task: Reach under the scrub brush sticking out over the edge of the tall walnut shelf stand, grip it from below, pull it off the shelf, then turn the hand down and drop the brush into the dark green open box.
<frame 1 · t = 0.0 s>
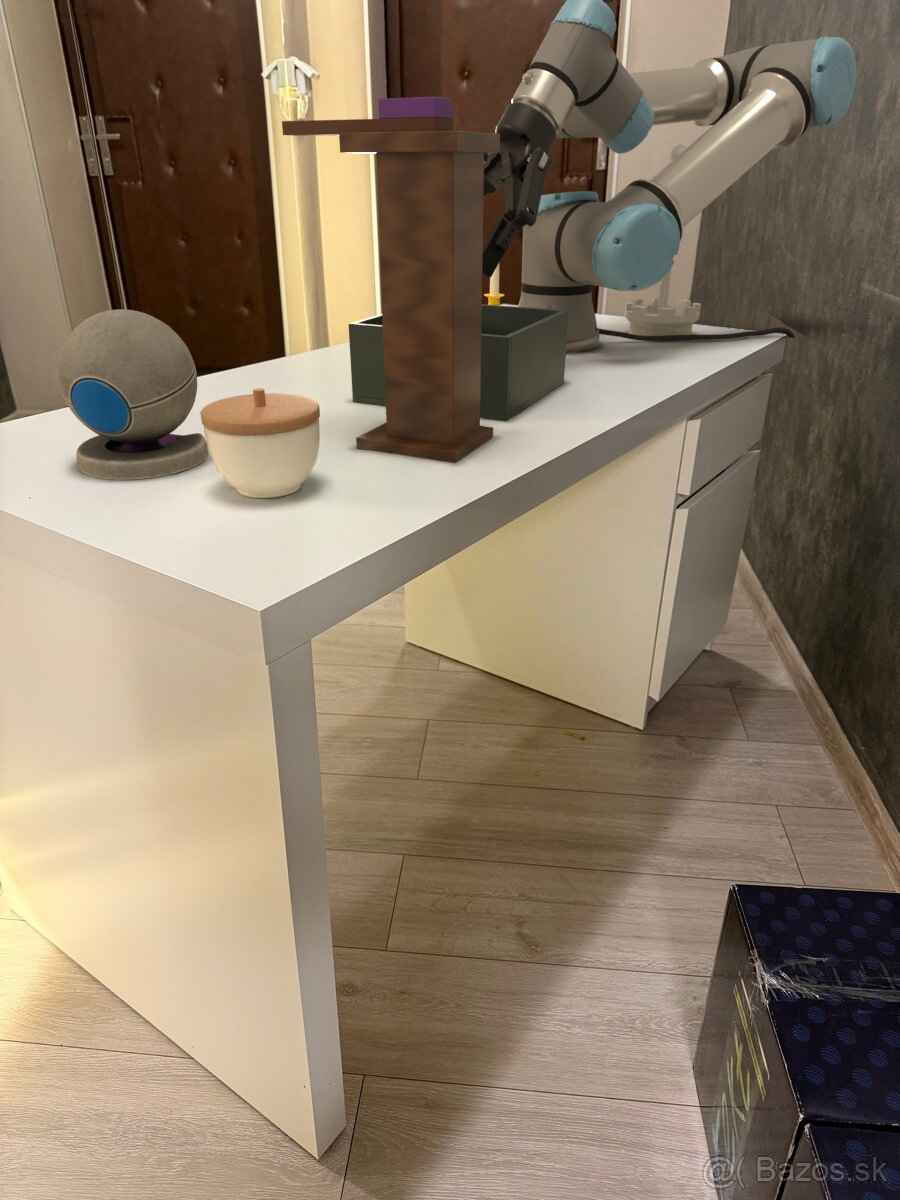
hand: (453, 266, 110), 15 cm above the table, tool tilted 35°, fingers open, 13 cm apart
scrub brush: (366, 134, 80), point 30 cm above the table, touching shelf stand
webcam: (144, 461, 87), on the table
dark green open box: (462, 392, 112), on the table
flag stand: (659, 335, 149), on the table
candle: (493, 325, 159), on the table
shelf stand: (426, 442, 92), on the table
trinket box: (269, 489, 80), on the table
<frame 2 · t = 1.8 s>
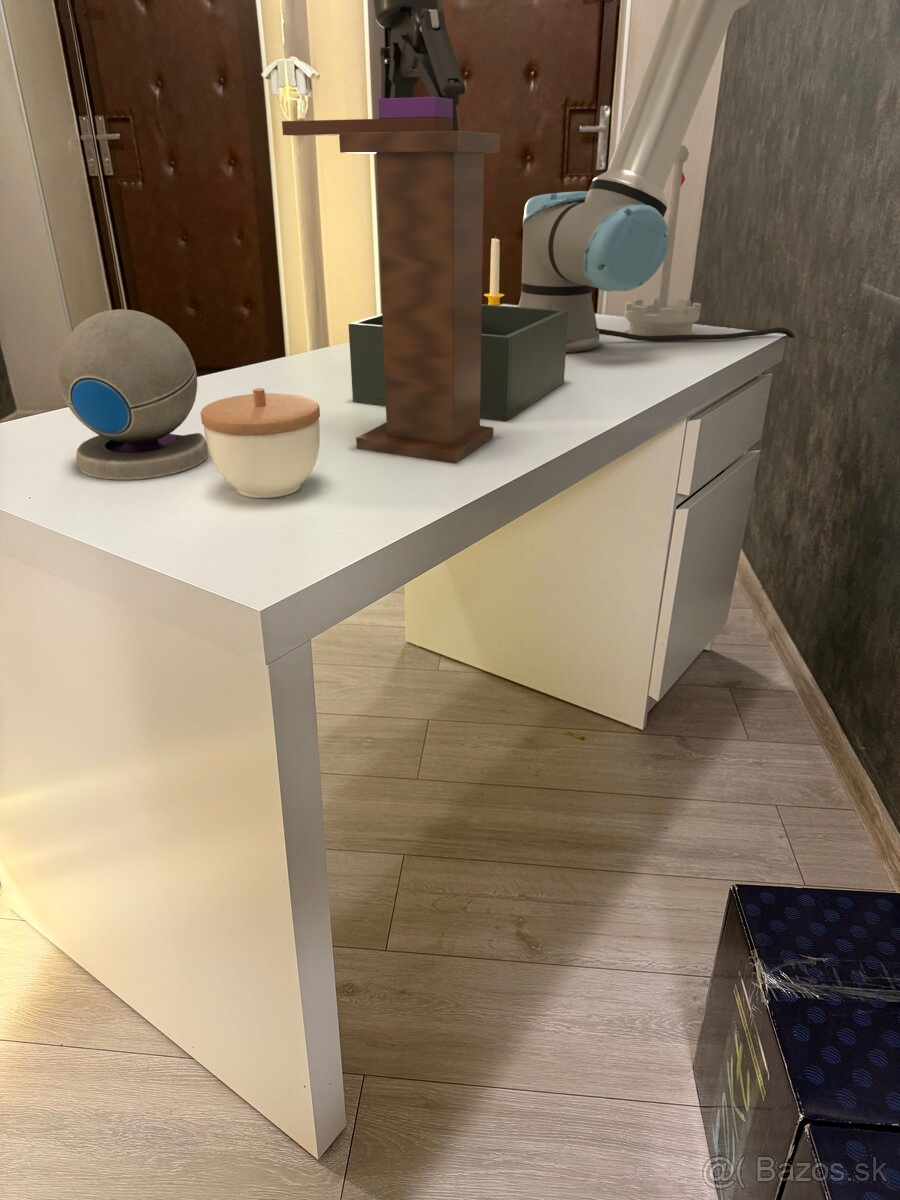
hand: (427, 184, 102), 25 cm above the table, tool pointing down, fingers open, 13 cm apart
nothing on the table moved.
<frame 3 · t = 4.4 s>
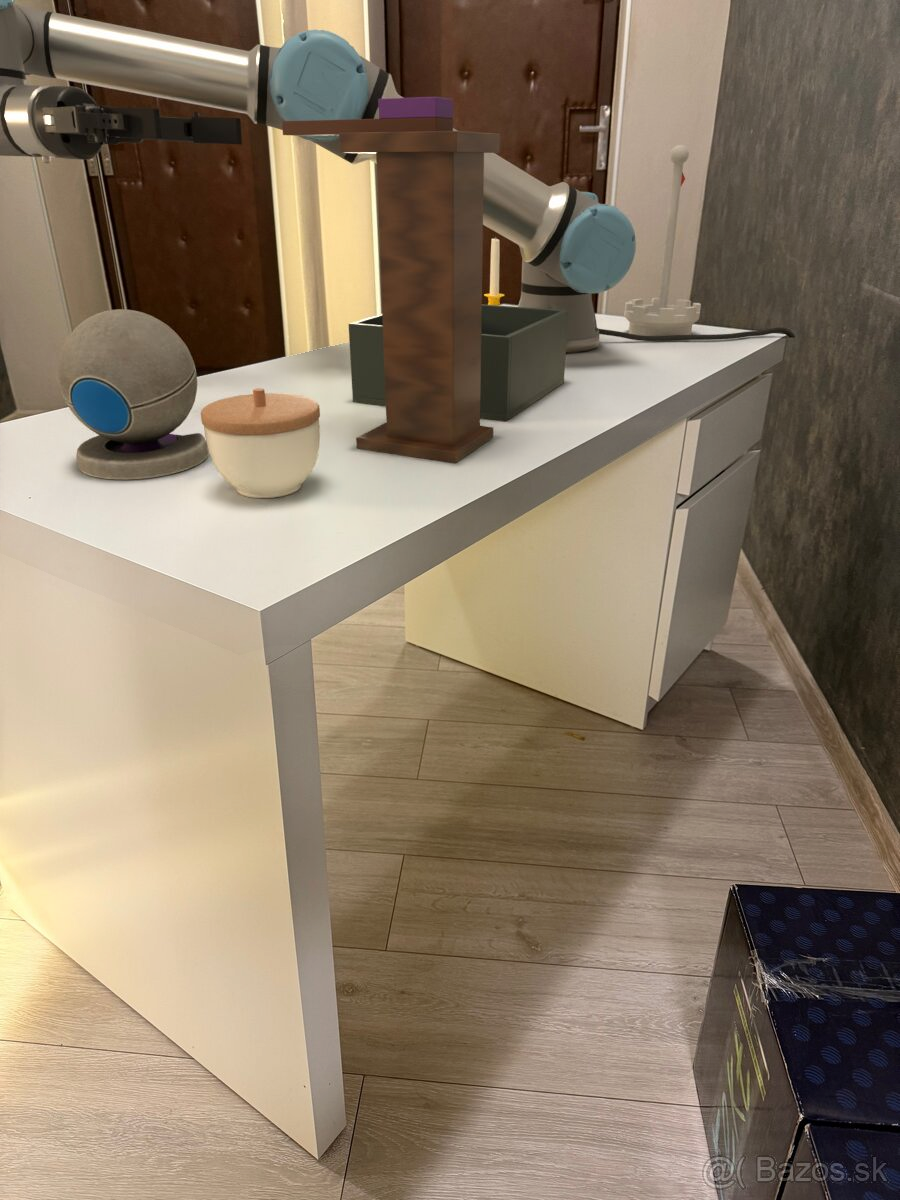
hand: (201, 127, 91), 31 cm above the table, tool horizontal, fingers open, 13 cm apart
nothing on the table moved.
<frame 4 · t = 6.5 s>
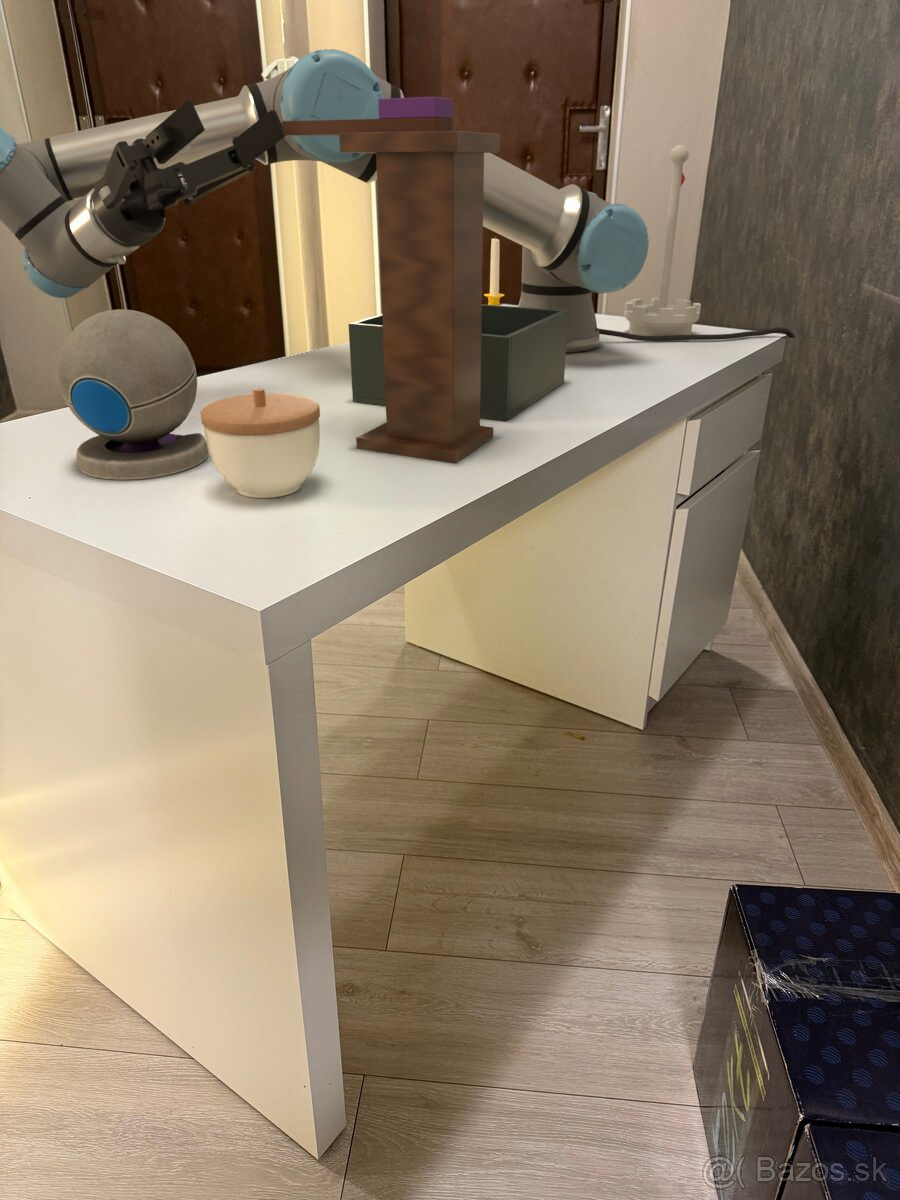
hand: (240, 119, 86), 32 cm above the table, tool pointing upward, fingers open, 13 cm apart
nothing on the table moved.
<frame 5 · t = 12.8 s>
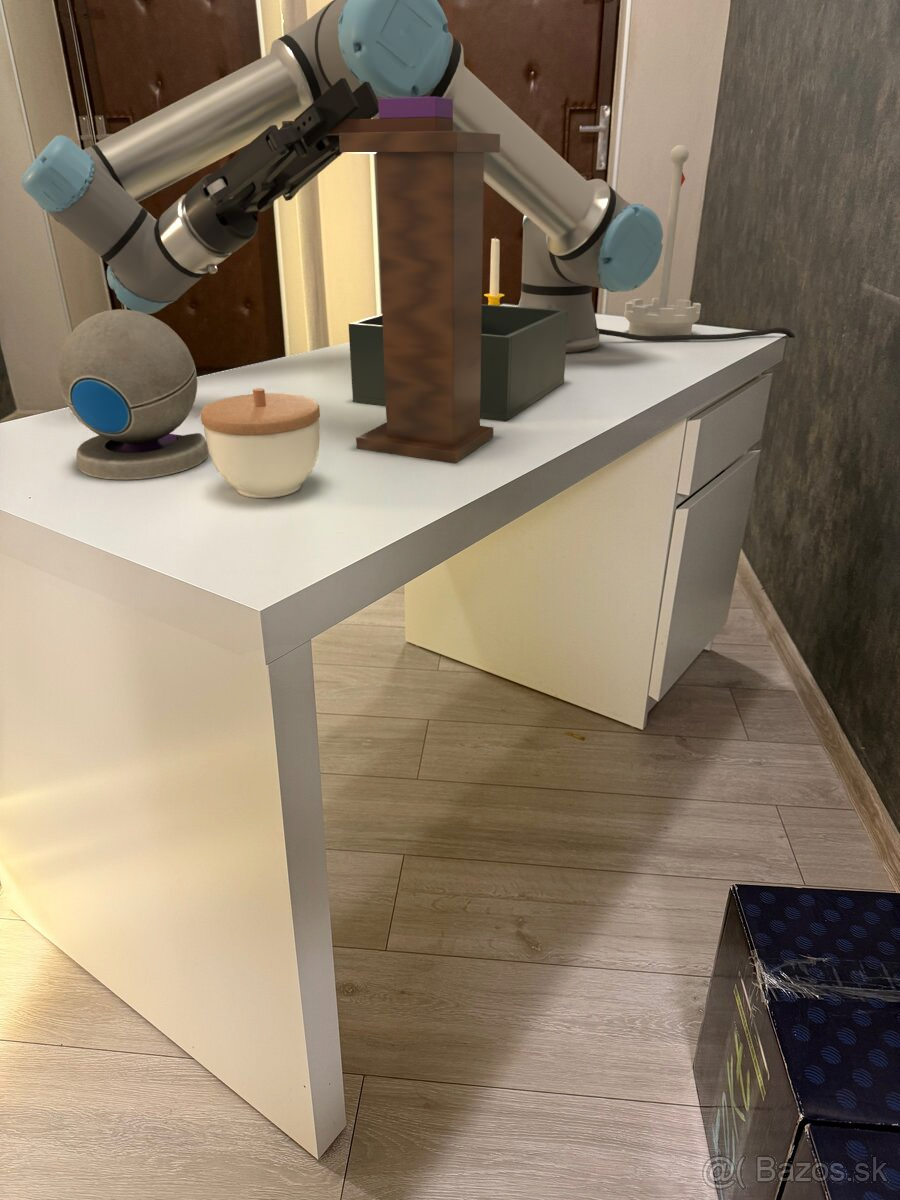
hand: (362, 94, 79), 33 cm above the table, tool pointing upward, fingers closed on scrub brush, 4 cm apart
scrub brush: (366, 134, 80), point 30 cm above the table, touching gripper, shelf stand
everything else where it was.
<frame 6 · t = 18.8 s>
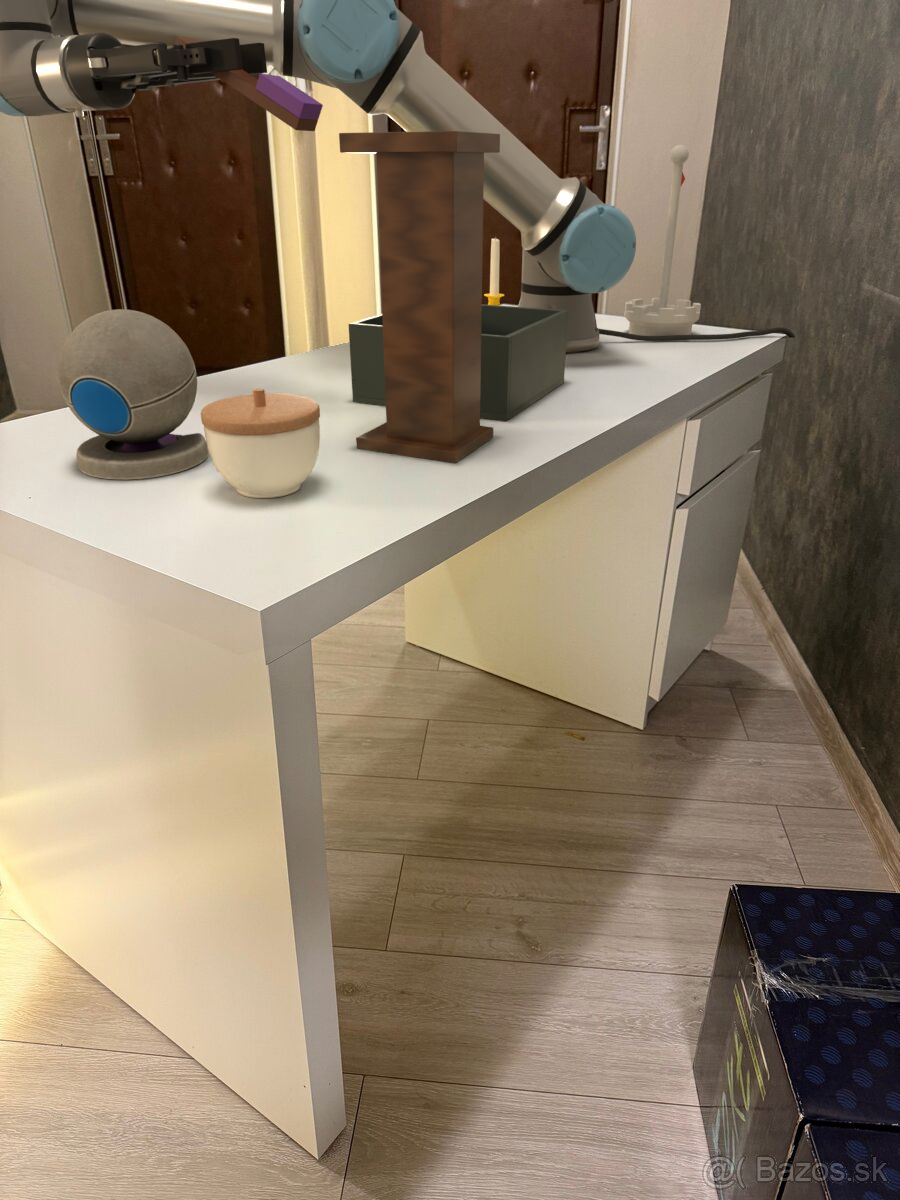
hand: (251, 55, 88), 38 cm above the table, tool horizontal, fingers closed on scrub brush, 4 cm apart
scrub brush: (244, 89, 90), point 35 cm above the table, tilted 28°, touching gripper
everything else where it was.
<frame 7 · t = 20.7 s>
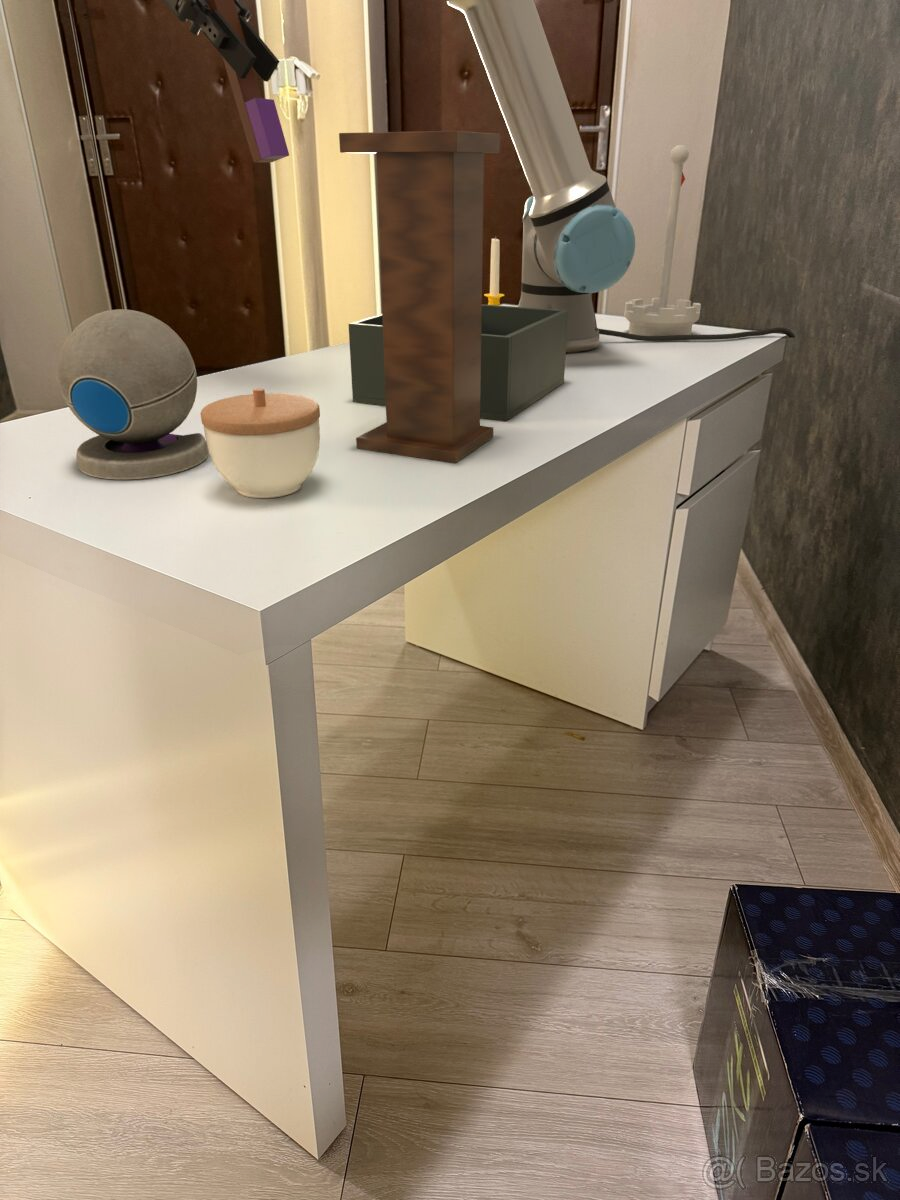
hand: (260, 69, 94), 37 cm above the table, tool tilted 45°, fingers closed on scrub brush, 4 cm apart
scrub brush: (239, 82, 96), point 36 cm above the table, tilted 75°, touching gripper
everything else where it was.
when the fingers open (23 cm above the table, at t = 28.0 s): scrub brush drops 17 cm and tips over, resting on dark green open box.
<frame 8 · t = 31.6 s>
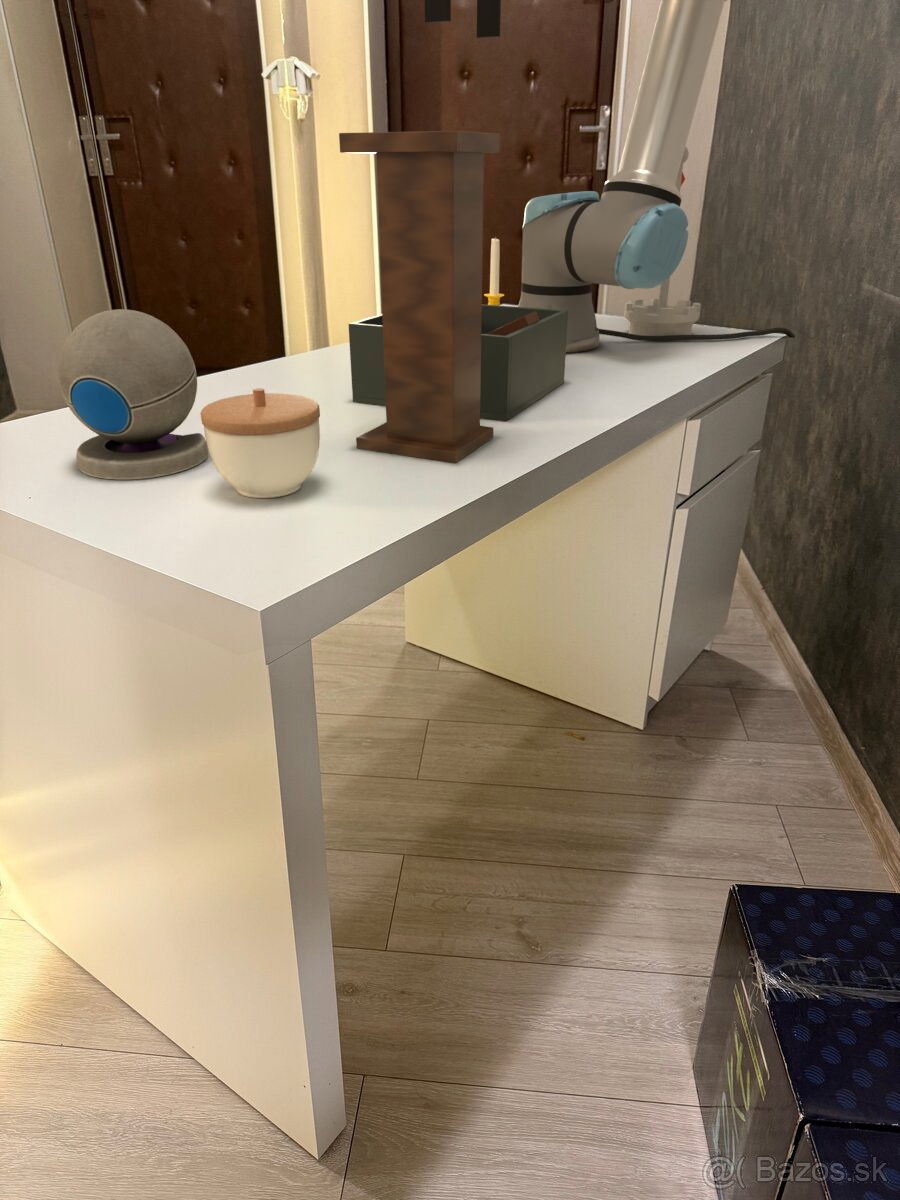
hand: (464, 30, 93), 41 cm above the table, tool pointing down, fingers open, 13 cm apart
scrub brush: (475, 339, 108), point 7 cm above the table, tilted 153°, touching dark green open box
everything else where it was.
at the end: scrub brush 2.1 cm from the dark green open box (horizontally); scrub brush point 7.2 cm above the table; the gripper is holding nothing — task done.
